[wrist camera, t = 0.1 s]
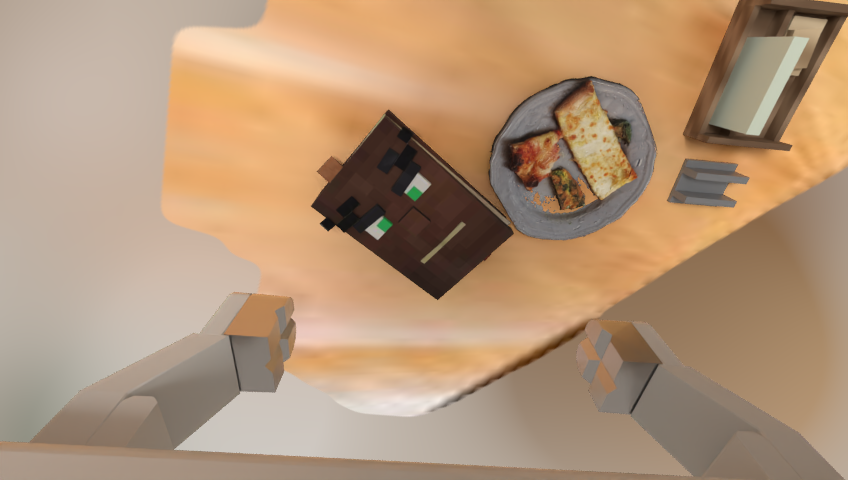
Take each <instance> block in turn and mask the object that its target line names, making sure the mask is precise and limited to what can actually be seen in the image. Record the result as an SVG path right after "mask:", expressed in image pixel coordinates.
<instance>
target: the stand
mask: <svg viewBox="0 0 848 480" xmlns="http://www.w3.org/2000/svg"><path fill="white" fill-rule="evenodd" d="M737 166H738V164H735V163H725V162H715V161H704V160H694V159H685V162H684V164H683V166H682V168H681V171H680V173H679V175H678V178H677V180H676V182H675V184H674V187H673V189H672V191H671V193H670V196H669V198H668V200H667V201H669V202H674V203H685V204H696V205H706V206H723V207H734V206H735V204H736V202H737V201H735V200H733V199H731V198H729V197H727V196H725V195H723V193H724V191H725V189H726V187H727V185H728V183H740V184H747V182H748V180H749V177H747V176H744V175H742V174H739V173H737V172H734V171H735V169H736V167H737Z"/></svg>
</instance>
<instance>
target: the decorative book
mask: <svg viewBox="0 0 848 480" xmlns="http://www.w3.org/2000/svg"><path fill="white" fill-rule="evenodd" d="M317 172H318V173H319V174H320V175H321V176H322V177H323V178H325V179H326V180H327V181H328V184H327V185H326V186H325V187H324V189H323V190H322V191H321V192H320V194H319V195H318V197H317V198H316V200H315V201H314V203H313V204H312V206H311V207H312V208H314V209H315V210H316V211H318V212H319V213H321V214H322V215H323V216H325V217H326V219H324V220H323V221H322V222H321V223H320V225H321V226H323V227H324V228H325V229H326V230H327V231H329V230H330V229H332V228H333V227H334V226H335V225H337V226H338V227H339V228H340V229H341V230H342V231H343V232H346V233H348V234H349V235H350V236H352V237H353V238H354V239H356V240H357V241H358V242H360V243H361V244H362V245H364V246H365V247H366V248H368V249H369V250H371V251H372V252H373V253H375V254H376V255H377V256H379V257H380V258H381V259H383V260H384V261H385V262H387V263H388V264H389V265H391V266H392V267H393V268H395V269H396V270H398V271H399V272H400V273H402V274H403V275H404V276H406V277H407V278H408V279H410V280H411V281H412V282H414V283H415V284H416V285H418V286H419V287H420V288H422V289H423V290H425V291H426V292H427V293H429V294H430V295H431V296H433V297H434V298H435V299H437V300H438V299H439V298H440V297H442V296H443V295H444V294H445V293H446V292H447V291H449V290H450V289H451V288H452V287H453V286H454V285H455V284H457V283H458V282H459V281H460V280H461V279H462V278H463V277H465V276H466V275H467V274H468V273H469V272H470V271H471V270H473V269H474V268H475V267H476V266H477V265H478V264H479V263H481V262H482V261H483V260H484V261H485V260H486V259H487V258H488V257H489V256H490V255H491V253H492V252H493V251H494V250H495V249H497V248H498V247H499V246H500V245H501V244H502V243H504V242H505V241H506V240H507V239H508V238H509V237H510V236H512V235H513V234H514V233H513V231H512V229H511V228H510V227H509V226H508V225H509V224H510V223H511V222H510V221H508V220H507V219H506V217H505V216H504V215H503V214H502V213H501V212H500V211H499V210H498V209H497V208H496V207H495V206H493V205H492V204H491V203H490V202H489V201H488V200H487V199H486V198H485V197H484V196H483V195H481V194H480V193H479V192H478V191H477V190H476V189H475V188H474V187H473V186H472V185H470V184H469V183H468V182H467V181H466V180H465V179H464V178H463V177H462V176H461V175H460V174H458V173H457V172H456V171H455V170H454V169H453V168H452V167H451V166H450V165H449V164H448V163H446V162H445V161H444V160H443V159H442V158H441V157H440V156H439V155H438V154H437V153H435V152H434V151H433V150H432V149H431V148H430V147H429V146H428V145H427V144H426V143H425V142H423V141H422V140H421V139H420V138H419V137H418V136H417V135H416V134H415V133H414V132H413V131H411V130H410V129H409V128H408V127H407V126H406V125H405V124H404V123H403V122H402V121H400V120H399V119H398V118H397V117H396V116H395V115H394V114H393V113H392V112H391V111H390V110H388V111H387V112H386V113H385V114H384V115H383V116H382V118H381V119H380V120H379V121H378V123H377V124H376V125H375V127H374V128H373V129H372V130H371V131H370V133H369V134H368V135H367V136H366V137H365V139H364V140H363V141H362V142H361V144H360V145H359V146H358V147H357V148H356V150H355V151H354V152H353V153H352V154H351V156H350V157H349V158H348V159H347V161H346V162H345V163H344V164H343V165H342V166H341V165H340V164H339V163H338V162H337V161H336V160H335V159H334V158H333V157H332V156H331V157H330V158H329V159H328V160H327V162H326V163H325V164H324V165H323V166H322V167H321V168H320V169H319V170H318V171H317Z"/></svg>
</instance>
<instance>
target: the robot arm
mask: <svg viewBox="0 0 848 480" xmlns="http://www.w3.org/2000/svg"><path fill="white" fill-rule="evenodd" d="M293 312H294V302H293V299H292V298H291V297H285V296H274V295H264V294H250V293H239V292H234V293H232V294H230V295H229V296H228V297H227V298H226V300H225V301H224V302H223V303H222V305H221V306H220V307H219V309H218V310H217V311H216V312H215V314H214V315H213V317H212V318H211V319H210V320H209V322H208V323H207V324H206V325H205V327H204V328H203V329H202V331H201V332H200V333H199V334H198V333H193V334H191V335H189V336H187V337H185V338H183V339H181V340H179V341H177V342H175V343H173V344H171V345H169V346H167V347H165V348H163V349H161V350H159V351H157V352H155V353H153V354H151V355H149V356H147V357H145V358H143V359H141V360H139V361H137V362H135V363H133V364H131V365H129V366H127V367H126V368H123V369H122V370H120V371H118V372H116V373H114V374H112V375H110V376H108V377H106V378H104V379H102V380H100V381H98V382H96V383H94V384H92V385H90V386H88V387H86V388H84V389H82V390H80V391H79V392H78V393H77V394H76V395H75V396H74V397H73V398H72V399H71V400H70V401H69V402H68V403H67V404H66V405H65V406H64V408H62V410H60V411H59V412H58V413H57V415H55V417H53V418H52V420H51V421H50V422H49V423H48V424H47V425H46V426H45V427H44V428H43V429H42V430H41V431H40V432H39V433H38V434H37V435H36V436H35V437H34V438H33V439H32V440H31V441H30V442H29V443H27V442H6V441H0V480H844V478H843V477H842V476H841V475H840V474H839V473H838V472H836V470H835V469H834V468H833V467H832V466H831V465H830V464H829V463H828V462H827V461H826V460H825V459H824V458H823V457H822V456H821V455H820V454H819V453H818V452H817V451H816V450H815V449H814V448H813V447H812V446H811V444H809V442H808V441H807V440H806V439H805V438H804V437H803V436H802V435H801V434H799V433H798V432H797V431H795V430H794V429H792V428H790V427H788V426H787V425H785V424H784V423H782V422H780V421H779V420H777V419H775V418H774V417H772V416H771V415H769V414H767V413H766V412H764V411H762V410H761V409H759V408H757V407H756V406H754V405H752V404H751V403H749V402H747V401H746V400H744V399H742V398H741V397H739V396H738V395H736V394H734V393H733V392H731V391H729V390H728V389H726V388H724V387H723V386H721V385H719V384H718V383H716V382H714V381H713V380H711V379H710V378H708V377H706V376H705V375H703V374H701V373H700V372H698V371H696V370H695V369H693V368H692V367H689V366H684V365H683V364H682V363H681V361H680V360H679V359H678V358H677V357H676V355H675V354H674V353H673V352H672V351H671V350H670V348H669V347H668V346H667V344H666V343H665V342H664V341H663V340H662V338H661V337H660V336H659V335H658V334H657V332H656V331H655V330H654V329H653V328H652V326H651V325H649V324H648V323H646V322H634V321H627V322H623V321H609V320H594V319H591V320H590V321H589V322H588V323H587V326H586V328H585V332H586V334H587V338H585V339H584V340H583V341H581V342H580V343H579V346H578V349H577V366H578V369H579V372H580V374H581V376H582V377H583V378H584V379H585V380H587V381H588V382H589V383H590V387H589V393H590V395H591V397H592V399H593V401H594V403H595V405H596V407H597V409H598V411H599V412H607V413H619V414H631V417H632V418H633V419H634V420H635V421H636V422H637V423H638V424H639V425H640V426H641V427H642V428H643V429H645V430H646V431H647V432H648V433H649V434H650V435H651V436H652V437H653V438H654V439H655V440H656V441H657V442H658V443H659V444H660V445H662V447H663V448H664V449H666V450H667V451H668V452H669V453H670V454H671V455H672V456H673V457H674V458H675V459H676V460H677V461H678V462H679V463H680V464H681V465H682V466H684V467H685V468H686V469H687V470H688V471H689V472H690V473H691V474H692V475H693V477H692V476H674V475H655V474H635V473H616V472H594V471H576V470H555V469H536V468H517V467H496V466H478V465H459V464H439V463H419V462H400V461H381V460H359V459H341V458H322V457H301V456H282V455H263V454H243V453H224V452H203V451H183V450H174V449H175V448H176V447H177V446H178V445H179V444H181V443H182V442H183V441H184V440H185V439H187V438H188V437H189V436H190V435H191V434H193V433H194V432H195V431H196V430H197V429H199V427H201V426H202V425H203V424H204V423H206V422H207V421H208V420H209V419H210V418H211V417H213V416H214V415H215V414H216V413H217V412H218V411H220V410H221V409H222V408H223V407H224V406H226V405H227V404H228V403H229V402H230V401H231V400H233V399H234V398H235V397H236V396H237V395H239V394H240V391H248V392H276V389H277V387H278V384H279V382H280V380H281V378H282V375H283V373H284V364H283V362H285V361H286V360H287V359H289V358H290V356H291V353H292V351H293V348H294V343H295V339H296V323H295V322H294V321H293V319H292V318H291V316H292V314H293Z"/></svg>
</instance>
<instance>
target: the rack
mask: <svg viewBox="0 0 848 480" xmlns="http://www.w3.org/2000/svg"><path fill="white" fill-rule="evenodd" d="M792 16H802V17H811V18H819V19H827V20H828V21H827V23H826V25H825V26H824V28H823V30H822V32H821V34H820V37H819V39H818V42H817V44H816V46H815V49H814V51H813V54H812V56H811V59H810V61H809V64H808V66H807V68H802V70H801V72H800V74H799V76H793V75H790V77H789V79H788V81H787V83H786V85H785V86H784V88H783V90H782V92H781V94H780V96H779V98H778V100H777V102H776V104H775V106H774V108H773V110H772V112H771V114H770V115H769V117H768V119H767V121H766V123H765V125H764V127H763V129H762V131H761V133H760V135H759V136H758V135H748V134H743V133H740V132H736V131H732V130H729V129H725V128H722V127H718V126H715V125H711V124H709V122H710V120H711V118H712V115H713V113H714V111H715V109H716V106H717V104H718V102H719V100H720V97H721V95H722V93H723V91H724V88H725V86H726V84H727V82H728V80H729V77H730V75H731V73H732V71H733V68H734V66H735V64H736V62H737V59H738V57H739V55H740V53H741V51H742V48H743V46H744V44H745V42H746V39H747V37H783V35H784V33H785V31H786V29H787V26H788V24H789V22H790V20H791V18H792ZM847 17H848V5H847V4H839V3H831V2H823V1H815V0H740V1H739V3H738V5H737V8H736V10H735V12H734V15H733V17H732V20H731V22H730V24H729V27H728V29H727V31H726V34H725V36H724V39H723V41H722V43H721V46H720V48H719V50H718V53H717V55H716V57H715V60H714V62H713V65H712V67H711V69H710V72H709V74H708V76H707V79H706V81H705V84H704V86H703V88H702V91H701V93H700V95H699V98H698V100H697V103H696V105H695V107H694V110H693V112H692V114H691V117H690V119H689V122H688V124H687V126H686V129H685V131H684V133H683V135H686V136H689V137H692V138H695V139H698V140H700V141H703V142H706V143H714V144H724V145H734V146H744V147H754V148H764V149H774V150H784V151H790V149H791V147H792V145H790V144H786V143H782V142H779V140H780V139H781V137H782V135H783V133H784V131H785V129H786V128H787V126H788V124H789V122H790V120H791V118H792V117H793V115H794V113H795V111H796V109H797V107H798V106H799V104H800V102H801V100H802V98H803V97H804V95H805V93H806V91H807V89H808V87H809V86H810V84H811V82H812V80H813V78H814V76H815V75H816V73H817V71H818V69H819V67H820V65H821V64H822V62H823V60H824V58H825V56H826V54H827V53H828V51H829V49H830V47H831V45H832V44H833V42H834V40H835V38H836V36H837V34H838V33H839V31H840V29H841V27H842V25H843V23H844V22H845V20H846V18H847Z"/></svg>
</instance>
